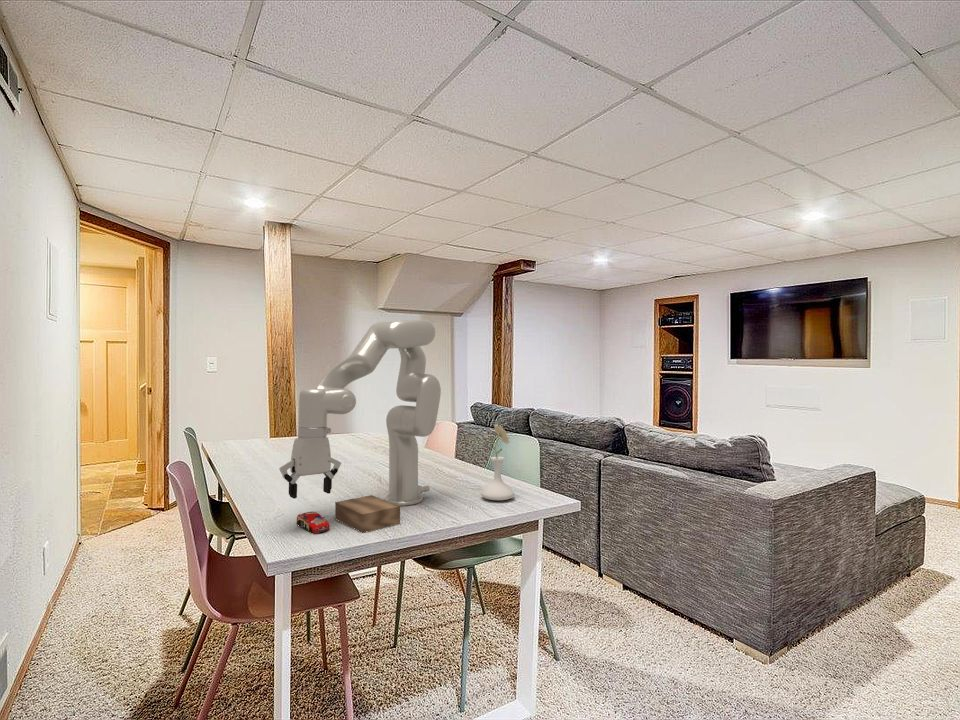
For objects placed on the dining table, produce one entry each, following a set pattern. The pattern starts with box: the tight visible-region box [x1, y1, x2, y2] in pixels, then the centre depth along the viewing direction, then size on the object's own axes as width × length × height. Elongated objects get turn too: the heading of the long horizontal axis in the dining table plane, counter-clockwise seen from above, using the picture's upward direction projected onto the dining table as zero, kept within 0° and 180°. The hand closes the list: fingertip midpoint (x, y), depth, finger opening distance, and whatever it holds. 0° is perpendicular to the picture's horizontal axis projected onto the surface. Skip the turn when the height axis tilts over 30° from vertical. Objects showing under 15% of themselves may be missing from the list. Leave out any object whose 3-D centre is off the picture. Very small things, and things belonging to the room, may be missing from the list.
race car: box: [296, 511, 331, 534], centre depth 142 cm, size 13×5×4 cm, turn 41°
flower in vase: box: [480, 423, 515, 501], centre depth 173 cm, size 13×11×25 cm
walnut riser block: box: [334, 494, 401, 534], centre depth 147 cm, size 12×16×5 cm
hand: (310, 495), depth 142 cm, fingers open, 9 cm apart
